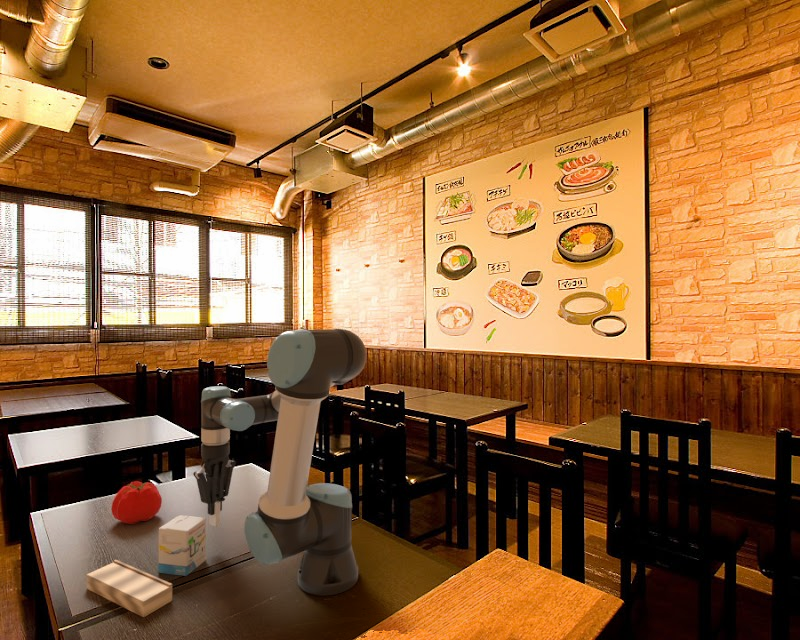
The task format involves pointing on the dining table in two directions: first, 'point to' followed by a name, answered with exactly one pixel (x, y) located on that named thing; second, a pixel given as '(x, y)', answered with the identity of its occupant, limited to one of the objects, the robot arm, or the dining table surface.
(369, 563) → the dining table surface
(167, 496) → the dining table surface
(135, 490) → the tomato
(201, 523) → the ink box
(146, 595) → the plank
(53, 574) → the dining table surface
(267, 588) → the dining table surface
